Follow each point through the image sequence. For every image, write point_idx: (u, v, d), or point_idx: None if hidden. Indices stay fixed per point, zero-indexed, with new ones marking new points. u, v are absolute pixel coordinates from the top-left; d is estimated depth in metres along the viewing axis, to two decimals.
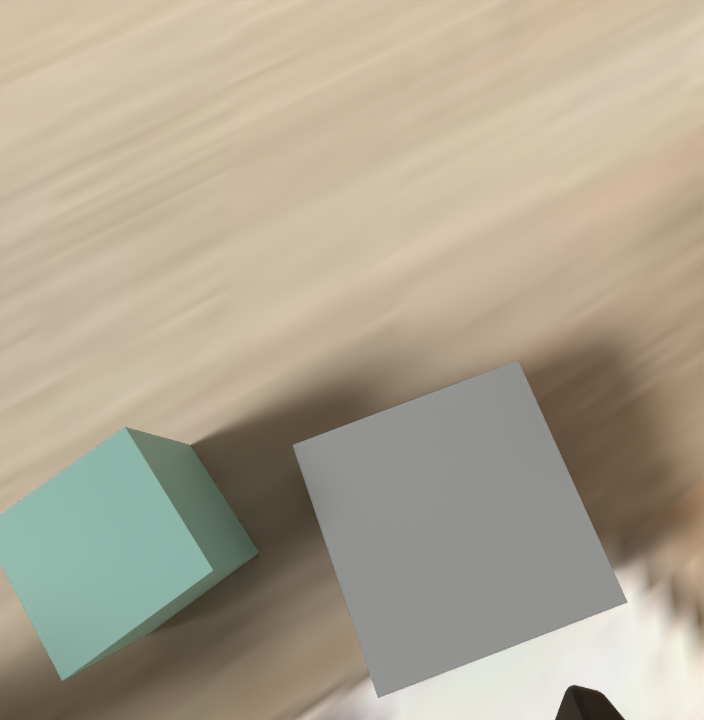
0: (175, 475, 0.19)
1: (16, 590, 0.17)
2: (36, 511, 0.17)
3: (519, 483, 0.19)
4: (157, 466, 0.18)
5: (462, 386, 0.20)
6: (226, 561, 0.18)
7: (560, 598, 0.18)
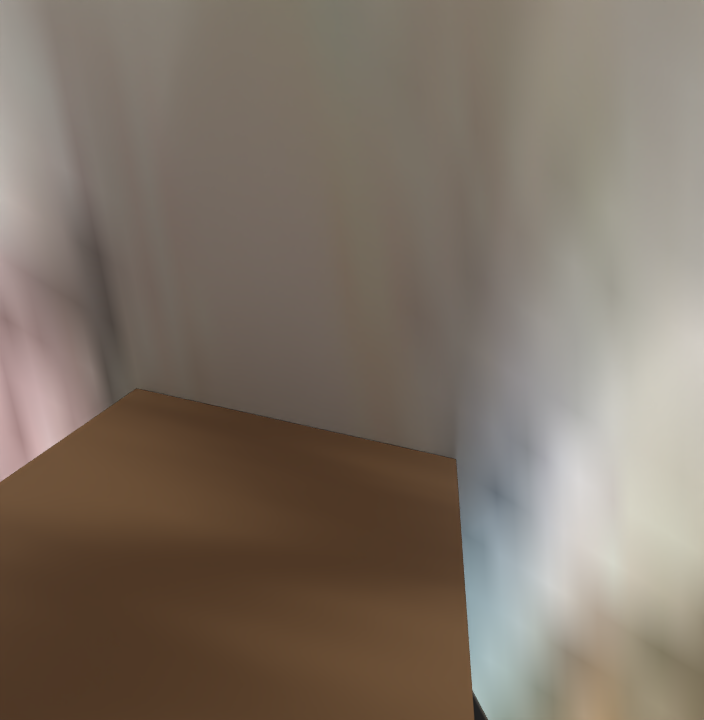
0: None
1: None
2: None
3: None
4: None
5: None
6: None
7: None
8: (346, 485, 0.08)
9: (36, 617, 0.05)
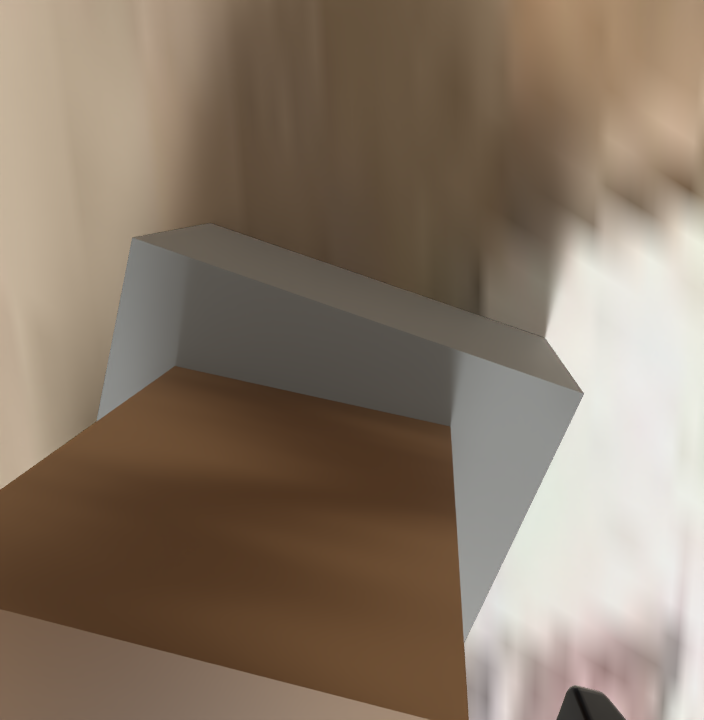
0: None
1: None
2: None
3: (311, 391, 0.10)
4: None
5: (119, 350, 0.11)
6: None
7: (498, 471, 0.10)
8: (358, 443, 0.09)
9: (128, 526, 0.06)
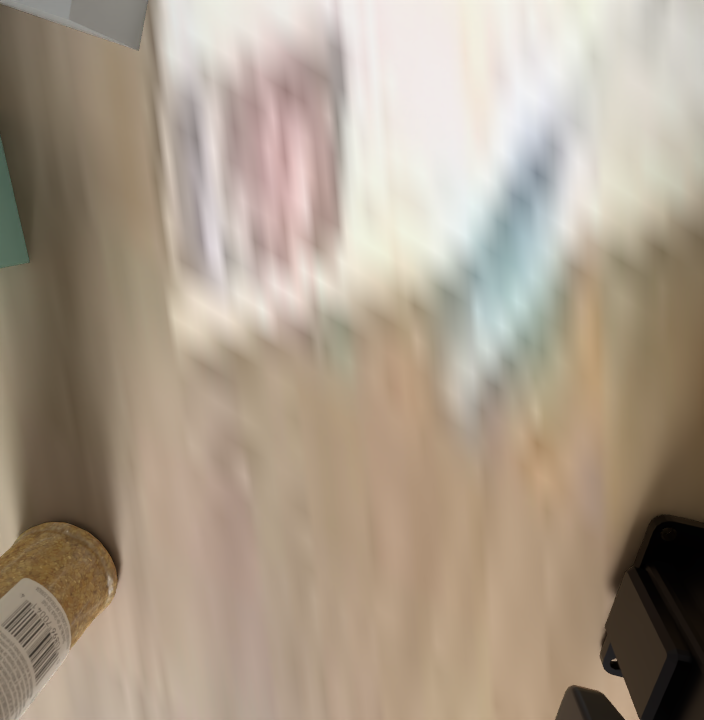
0: None
1: None
2: None
3: None
4: None
5: None
6: None
7: None
8: None
9: None
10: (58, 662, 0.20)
